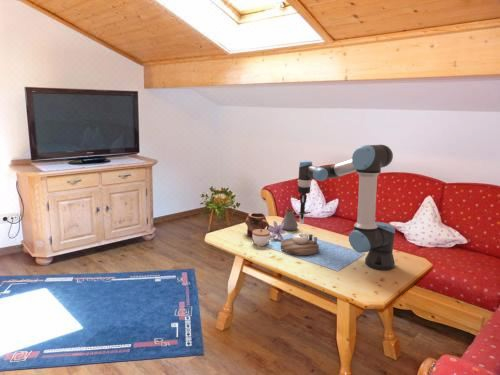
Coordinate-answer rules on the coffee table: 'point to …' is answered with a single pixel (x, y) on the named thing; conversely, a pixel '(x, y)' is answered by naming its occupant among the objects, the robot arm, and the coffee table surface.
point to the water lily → (276, 231)
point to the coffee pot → (290, 220)
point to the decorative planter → (256, 222)
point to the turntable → (300, 247)
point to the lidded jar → (260, 236)
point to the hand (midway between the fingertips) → (301, 223)
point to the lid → (300, 238)
